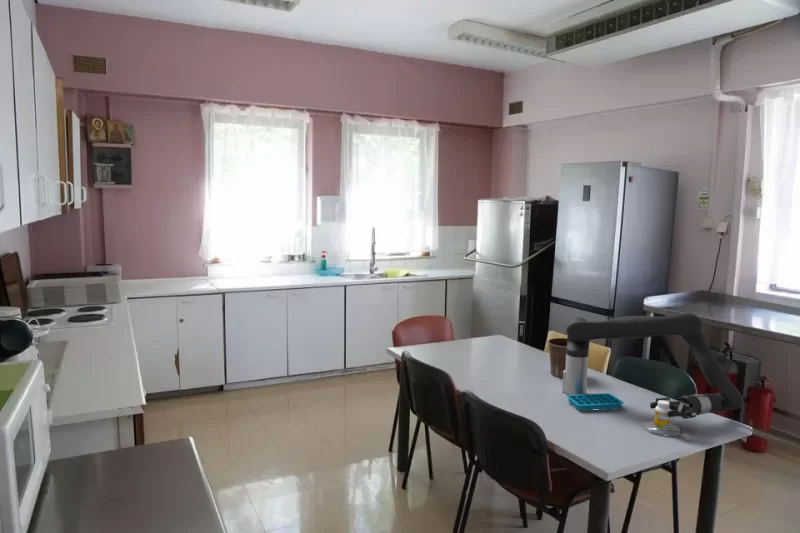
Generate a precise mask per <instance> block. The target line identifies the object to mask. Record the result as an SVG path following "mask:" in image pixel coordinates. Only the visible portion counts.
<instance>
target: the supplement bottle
mask: <svg viewBox="0 0 800 533" xmlns="http://www.w3.org/2000/svg"><path fill="white" fill-rule="evenodd" d="M669 406H670V403H669V402H668V401H664V400H659V401H658V406H656V407H655V408H654V418H653V421H654V426H655V427H656V428H657V429H661V430H669V429H670V424H671V418H672V417H668V411H671V409H670V408H669Z"/></svg>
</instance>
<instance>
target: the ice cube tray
mask: <svg viewBox="0 0 800 533" xmlns="http://www.w3.org/2000/svg"><path fill="white" fill-rule="evenodd" d="M566 398H567V399H568V403H569V402H570V403H571V404H572V405H573V406H572V405H571V404H570V403H569V404H570V405H571V406H572V407H574V406H575V407H576V408H577V409H579V410H593V409H611V410H615V409H614V408H620V409H621V408H622V405H624V404H625V403H624V401H623V400H622V399H619V398H618V397H617V396H615V395H614V394H612V393H609V392H607V393H606V392H605V393H602V392H601V393H600V392H599V393H586V394H580V395H568V394H566ZM575 407H574V408H575ZM576 408H575V409H576ZM577 409H576V410H577ZM579 410H578V411H579ZM593 411H594V410H593Z"/></svg>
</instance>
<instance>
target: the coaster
mask: <svg viewBox="0 0 800 533" xmlns="http://www.w3.org/2000/svg"><path fill="white" fill-rule="evenodd" d="M643 427H645V428H646V429H647V430H649V431H651V432H653V433H656V434H660V435H667V436H673V437H676V436H675V435H678V436H679V435H680V434H681V430H680V428H679V427H678V426H676V424H672V423H670V429H669V430H661V429H657V428H656V427H655V426H654V420H649V421H646V422H644V424H643ZM645 428H644V429H645ZM646 429H645V430H646ZM647 430H646V431H647ZM649 431H648V432H649ZM651 432H650V433H651ZM653 433H652V434H653ZM656 434H655V435H656ZM660 435H659V436H660ZM667 436H666V437H667Z"/></svg>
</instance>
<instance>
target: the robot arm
mask: <svg viewBox="0 0 800 533" xmlns="http://www.w3.org/2000/svg"><path fill="white" fill-rule="evenodd" d="M702 328H703V322H702V320H701V319H700V318H699V317H698V316H697V315H696V314H694V313H689V312H687V313H680V314H675V315H668V316H667V315H666V316H655V315H654V316H653V315H631V316H629V315H627V316H618V317H614V318H610V319H607V320H602V321H601V320H600V321H599V320H598V321H588V320H587V319H586V318H584V317H580V316H577V317H574V318H572V319H570V320H569V322H568V324H567V325H566V335H567V347H566V366H565V370H564V371H563V378H562V390H561V391H562V393H565V394H566V395H580V394H587V391H588V390H587V386H588V384H587V383H588V369H589V368H588V367H589V352H590V351H589V350H590V341H592V340H600V339H610V340H614V339H615V340H625V339H626V340H627V339H628V340H629V339H644V338H653V337H657V336H658V337H659V336H665V335H666V336H681V337H682V338H683V340H684V341H685V342H686V344H687V345H688V348H690V350H691V353H692V354H693V357H694V358H695V360H696V362H697V364H698V366H699V369H700V371H701V373H702V375H703V376H704V378H705V381H706V382H707V384H708V386H709V387H711V388H716V389H719V390H720V392H714V393H702V394H697V393H696V394H688V395H682V396H680V397H679V398H678V399H677V400H675V399H673V400H671V398H670V397H666V396H665V397H658V398H657V397H656V398H655V401H651V402H650V403H649V408H650V409H652V410H653V409H655V407H656V406H658V401H659V400H664V401H668V402H669V403H670V406H669V408H670V409H671V411H668V417H671V418H676V417H677V418H682V419H683V420H687V419H691V418H692V419H693V418H696V417H697V416H702V415H705V414H710V413H716V412H725V411H726V412H727V411H732V410H737V409H740V408H742V407H743V406H744V398H743V397H744V396H743V395H742V394H741V392H740V390H739V389H738V388H737V387H736V386H735V385H734V384H733V383H732V381H731V380H730V379H729V378H728V377H727V375H726V373H725V371H724V370H723V367H722V365H721V364H720V363H719V360H718V359H717V358H716V356H715V355H714V353H713V352H712V350H711V348H710V347H709V346H708V343H707V341H706V339H705V337H704V335H703V332H702Z"/></svg>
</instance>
